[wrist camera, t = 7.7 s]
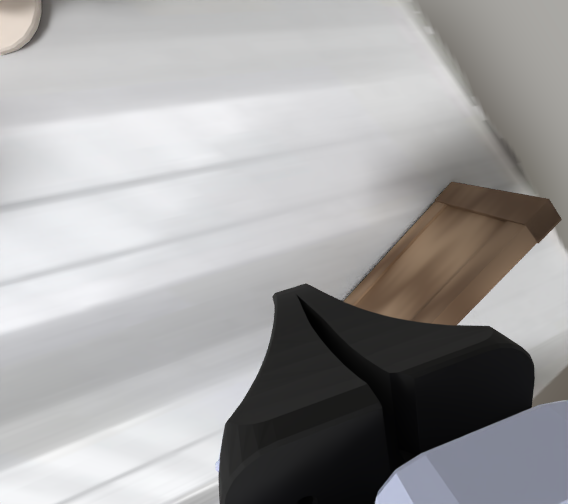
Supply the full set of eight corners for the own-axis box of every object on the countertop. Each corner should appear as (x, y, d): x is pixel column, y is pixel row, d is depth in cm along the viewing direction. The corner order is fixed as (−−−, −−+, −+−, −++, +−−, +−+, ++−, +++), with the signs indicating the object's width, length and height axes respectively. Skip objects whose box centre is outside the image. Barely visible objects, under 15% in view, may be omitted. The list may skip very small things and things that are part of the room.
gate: (322, 349, 24) (363, 422, 18) (307, 339, 23) (344, 411, 17) (463, 196, 22) (561, 219, 16) (451, 181, 21) (549, 198, 15)
